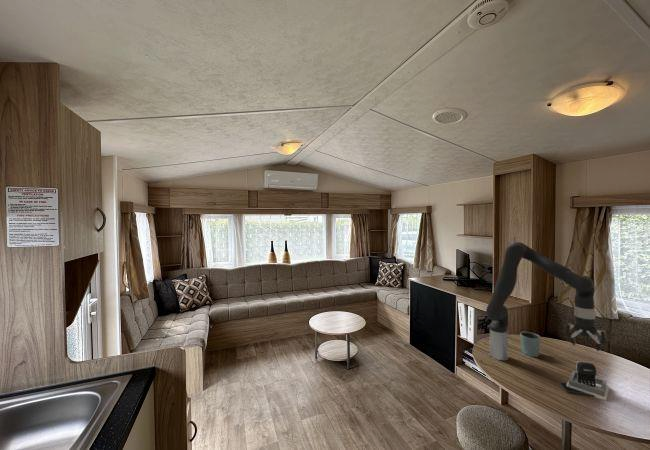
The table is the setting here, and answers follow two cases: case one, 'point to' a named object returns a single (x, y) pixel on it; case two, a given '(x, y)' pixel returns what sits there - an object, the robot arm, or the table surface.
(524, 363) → the table surface
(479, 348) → the table surface
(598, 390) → the frame
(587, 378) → the battery charger
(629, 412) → the table surface
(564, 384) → the phone
